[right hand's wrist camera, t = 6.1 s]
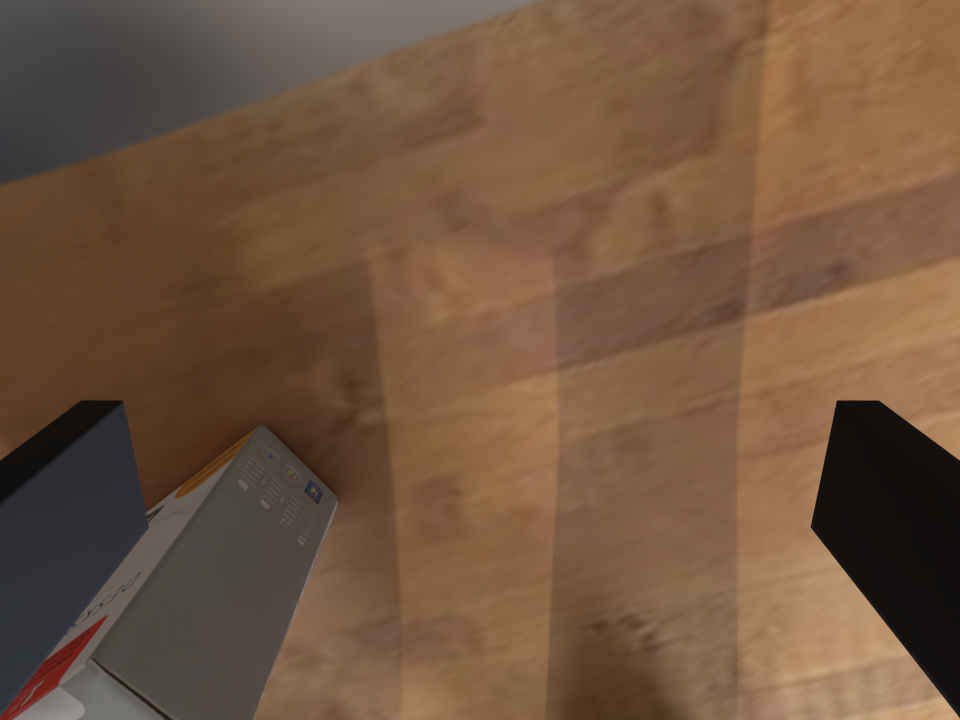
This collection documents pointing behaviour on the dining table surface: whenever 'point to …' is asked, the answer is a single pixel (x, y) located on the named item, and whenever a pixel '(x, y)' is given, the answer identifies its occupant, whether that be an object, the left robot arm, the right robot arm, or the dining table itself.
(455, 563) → the dining table surface
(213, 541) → the hard drive box
